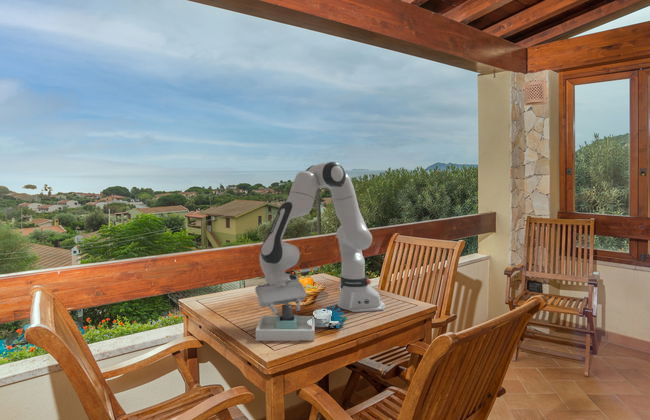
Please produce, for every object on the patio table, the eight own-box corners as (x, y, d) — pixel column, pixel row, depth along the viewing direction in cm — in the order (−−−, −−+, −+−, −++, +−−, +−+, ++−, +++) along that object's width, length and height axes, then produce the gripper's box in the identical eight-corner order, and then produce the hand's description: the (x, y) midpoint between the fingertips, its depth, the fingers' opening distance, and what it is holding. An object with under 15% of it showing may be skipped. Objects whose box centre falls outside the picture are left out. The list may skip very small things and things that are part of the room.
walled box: (314, 325, 170) (314, 313, 170) (314, 340, 154) (314, 327, 154) (261, 325, 170) (261, 313, 169) (255, 340, 154) (255, 327, 153)
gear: (320, 326, 165) (322, 303, 172) (318, 332, 170) (320, 310, 176) (347, 329, 166) (348, 307, 172) (344, 335, 170) (345, 313, 177)
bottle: (292, 325, 167) (292, 301, 166) (291, 329, 163) (291, 304, 162) (282, 326, 166) (282, 301, 166) (281, 329, 162) (281, 304, 162)
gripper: (255, 281, 163) (265, 312, 156) (301, 275, 174) (312, 304, 166) (251, 289, 168) (261, 320, 160) (296, 283, 178) (307, 311, 171)
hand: (287, 312), depth 163 cm, fingers open, 8 cm apart
